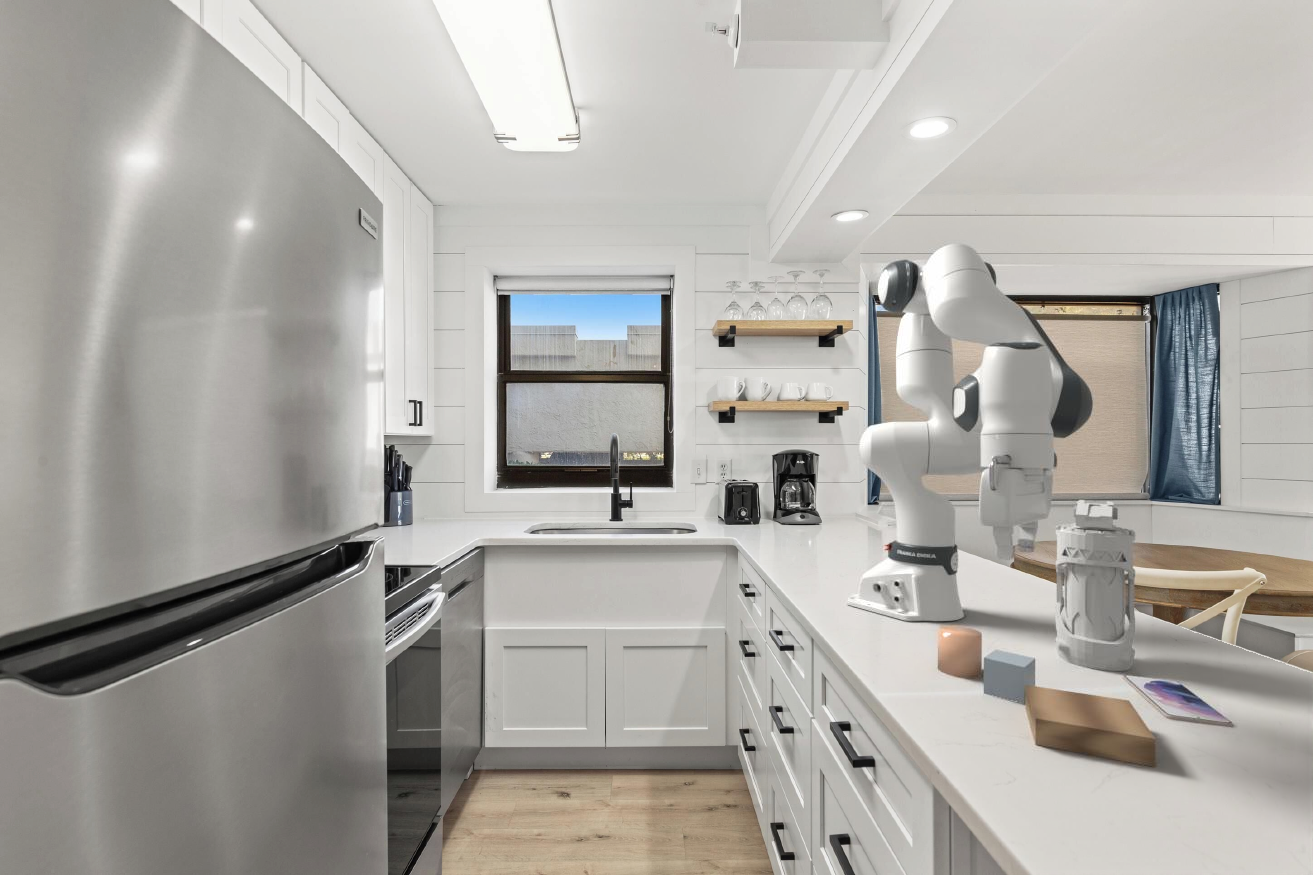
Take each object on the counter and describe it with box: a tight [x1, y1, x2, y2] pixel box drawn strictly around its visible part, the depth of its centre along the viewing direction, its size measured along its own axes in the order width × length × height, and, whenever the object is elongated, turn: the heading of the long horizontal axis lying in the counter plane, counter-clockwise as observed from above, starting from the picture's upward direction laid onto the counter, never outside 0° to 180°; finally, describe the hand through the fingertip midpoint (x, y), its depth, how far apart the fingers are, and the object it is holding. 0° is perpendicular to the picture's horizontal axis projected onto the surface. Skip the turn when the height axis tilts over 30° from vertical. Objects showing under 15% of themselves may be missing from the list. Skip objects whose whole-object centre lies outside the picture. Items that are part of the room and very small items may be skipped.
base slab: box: [1024, 685, 1156, 768], centre depth 74 cm, size 11×11×3 cm
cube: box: [983, 649, 1036, 705], centre depth 86 cm, size 5×5×5 cm
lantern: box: [1055, 499, 1136, 672], centre depth 100 cm, size 13×10×25 cm
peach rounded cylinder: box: [937, 625, 983, 679], centre depth 94 cm, size 6×6×6 cm
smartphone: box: [1122, 674, 1234, 728], centre depth 84 cm, size 7×1×15 cm
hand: (1016, 555), depth 86 cm, fingers open, 8 cm apart
